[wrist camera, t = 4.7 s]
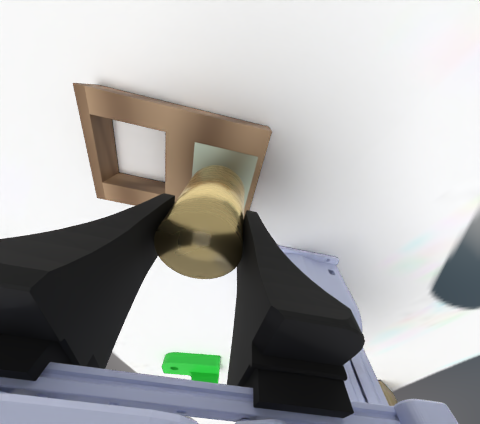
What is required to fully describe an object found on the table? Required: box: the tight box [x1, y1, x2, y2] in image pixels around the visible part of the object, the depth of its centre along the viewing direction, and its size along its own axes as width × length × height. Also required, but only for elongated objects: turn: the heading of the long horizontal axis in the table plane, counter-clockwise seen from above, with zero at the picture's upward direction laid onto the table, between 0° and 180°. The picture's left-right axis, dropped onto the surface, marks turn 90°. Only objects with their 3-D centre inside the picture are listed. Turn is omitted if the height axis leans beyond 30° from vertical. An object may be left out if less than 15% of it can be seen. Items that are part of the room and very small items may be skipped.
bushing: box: [154, 165, 245, 279], centre depth 11 cm, size 4×4×6 cm
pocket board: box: [73, 83, 272, 220], centre depth 17 cm, size 14×9×3 cm, turn 78°
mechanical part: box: [162, 352, 220, 384], centre depth 38 cm, size 12×6×8 cm, turn 86°
